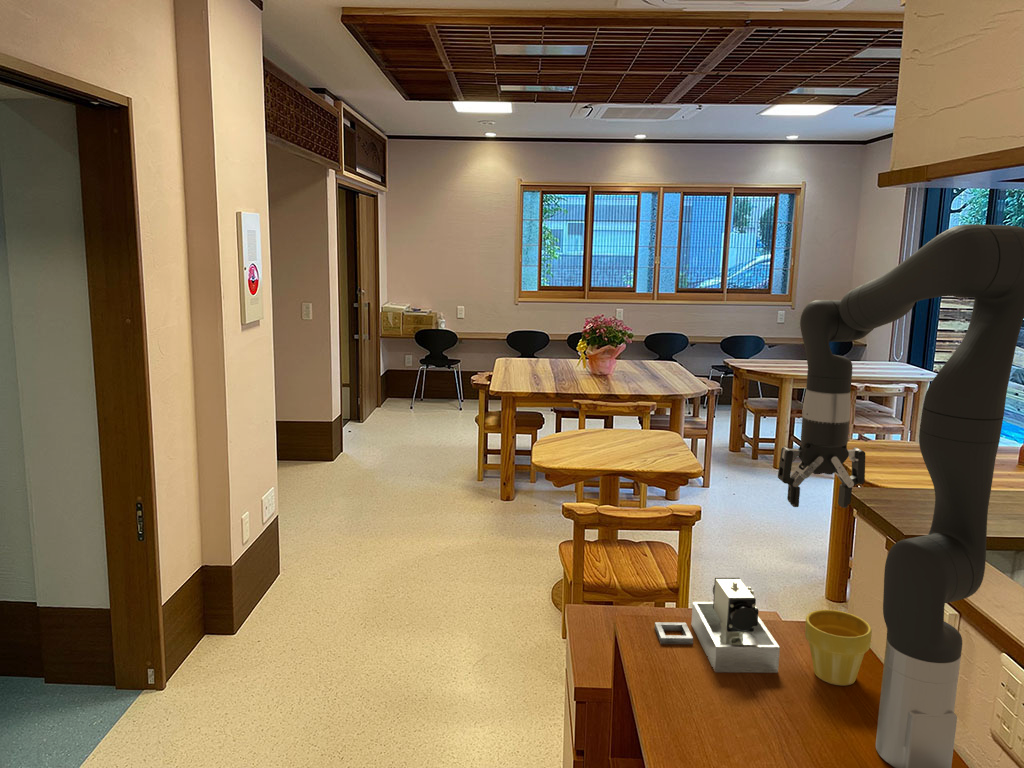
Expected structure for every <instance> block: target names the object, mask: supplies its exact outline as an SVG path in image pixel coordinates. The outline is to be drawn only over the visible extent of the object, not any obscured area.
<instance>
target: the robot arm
mask: <svg viewBox="0 0 1024 768" xmlns="http://www.w3.org/2000/svg"><path fill="white" fill-rule="evenodd" d="M941 297H942V298H944V297H954V298H958V299H974V301H973V306H972V311H971V315H970V316H971V317H970V321H969V324H968V326H967V330H966V332H965V334H964V337H963V338H962V340H961V342H960V343H959V345H958V346H957V348H956V349H955V351H954V352H953V353H952V354H951V356H950V357H949V358H948V359H947V361H946V362H945V363H944V364H943V366H942V367H941V368H940V370H939V371H938V373H937V374H936V375H935V376H934V378H933V380H931V383H929V384H930V385H928V388H927V390H926V391H925V394H924V398H923V399H924V400H923V404H922V409H921V410H922V411H921V417H920V422H919V423H920V424H919V431H918V432H919V433H918V437H919V438H918V445H919V449H920V452H921V456H922V459H923V462H924V465H925V467H926V470H927V471H928V475H929V477H930V480H931V482H932V486H933V489H934V498H935V499H934V510H933V516H932V521H931V525H930V529H929V532H928V534H925V535H921V536H915V537H909V538H905V539H904V538H903V539H901V540H898V541H896V542H895V543H894V544H892V547H891V548H890V549H889V551H888V552H887V556H886V560H885V564H884V571H883V572H884V575H883V596H882V597H883V598H882V599H883V601H882V615H883V620H884V623H885V627H886V639H885V640H886V641H885V648H884V649H885V650H884V659H883V660H884V661H883V669H882V678H881V687H880V688H881V689H880V697H879V706H878V707H879V708H878V714H877V715H878V717H877V726H876V727H877V728H876V738H875V739H876V740H875V749H876V751H877V753H878V755H879V756H880V757H881V758H882V759H883V761H884V762H886V763H888V764H889V765H890V766H892V767H893V768H952V763H953V756H954V746H955V739H956V731H957V722H958V716H957V714H956V713H955V708H956V699H957V698H956V697H957V690H958V682H959V676H960V675H959V674H960V668H961V661H962V659H961V658H962V651H963V637H962V635H961V633H960V632H959V630H958V629H957V628H956V627H955V626H953V625H952V624H950V623H948V622H946V621H945V605H946V604H949V603H953V602H957V601H961V600H965V599H968V598H969V597H971V596H973V595H975V593H977V591H978V590H979V589H980V587H981V585H982V583H983V580H984V577H985V573H986V572H985V570H986V561H987V560H986V559H987V558H986V557H987V535H988V533H987V532H988V531H987V530H988V516H989V515H988V514H989V513H988V512H989V506H990V498H991V492H992V485H993V479H994V471H995V465H996V458H997V454H998V449H999V445H1000V441H1001V434H1002V429H1003V423H1004V417H1005V408H1006V401H1007V400H1006V399H1007V394H1008V388H1009V382H1010V378H1011V372H1012V368H1013V362H1014V358H1015V352H1016V349H1017V344H1018V340H1019V337H1020V333H1021V329H1022V325H1023V321H1024V227H1021V226H1018V225H1004V224H1003V225H1002V224H1000V225H999V224H974V223H973V224H971V223H969V224H968V223H967V224H960V225H955V226H953V227H949V228H948V229H946V230H944V231H943V232H941V233H939V234H937V235H936V236H934V238H931V240H930V241H928V242H927V243H925V244H924V245H922V246H921V247H920V248H919V249H918V250H917V251H915V252H914V253H912V254H911V255H910V256H909V257H907V258H906V259H905V260H903V261H902V262H900V263H899V264H898V265H896V266H895V267H894V268H892V269H891V270H889V271H887V272H885V273H884V274H882V275H881V276H878V277H876V278H874V279H872V280H869V281H867V282H866V283H865V282H864V283H863V284H861V285H859V286H856V287H855V288H853V289H851V290H849V291H848V292H847V293H845V295H844V296H843V297H842V299H815V300H813V301H810V302H809V303H808V304H806V306H805V307H804V309H803V310H802V313H801V316H800V318H799V319H800V321H799V326H800V327H799V328H800V331H801V332H800V333H801V336H802V342H803V346H804V350H805V357H806V362H807V377H806V388H805V394H804V398H803V404H802V405H803V406H802V407H803V408H802V411H801V413H802V418H801V419H802V420H801V432H800V446H799V447H798V449H797V448H796V449H795V448H789V447H787V446H783V447H781V449H780V457H779V463H778V471H777V472H778V473H777V478H778V479H779V481H781V482H782V483H783V484H787V496H786V497H787V498H786V499H787V502H788V503H789V504H790V506H792V507H793V508H798V507H800V496H801V487H800V485H802V483H803V482H804V481H805V480H806V479H808V478H809V477H810V476H811V475H812V474H814V475H822V474H823V475H824V474H825V475H833V474H835V475H836V476H837V478H838V479H839V481H840V482H841V484H840V483H839V489H838V490H839V491H838V500H837V504H838V506H839V507H840V508H842V509H848V507H849V505H850V504H851V502H852V491H853V487H854V486H856V485H864V483H865V479H866V452H865V451H864V450H863V449H861V448H858V447H853V448H852V449H848V448H847V446H848V443H849V432H850V431H849V430H850V422H851V421H850V419H851V407H852V406H851V405H852V401H851V391H852V380H853V379H852V378H853V363H852V360H851V359H850V358H848V357H846V356H843V355H837V354H834V353H833V352H832V350H831V347H830V343H831V342H832V343H833V342H836V343H837V342H839V343H841V342H843V343H844V342H845V343H846V342H855V341H858V340H861V339H863V338H865V337H866V336H868V335H869V334H870V333H871V332H872V331H874V329H876V328H879V327H882V326H885V325H888V324H890V323H893V322H895V321H897V320H899V319H901V318H903V317H904V316H906V315H907V314H908V313H909V312H910V311H912V310H913V307H914V306H915V304H916V302H920V301H923V300H928V299H934V298H941ZM797 457H798V458H799V459H800V462H799V463H798V464H796V465H797V466H795V467H794V470H793V472H792V466H793V462H795V461H796V459H797ZM848 458H849V460H850V461H851V473H850V474H851V475H849V473H848V471H847V470H846V468H845V467H844V466H843V464H844V463H845V462H846V460H847V459H848Z"/></svg>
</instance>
